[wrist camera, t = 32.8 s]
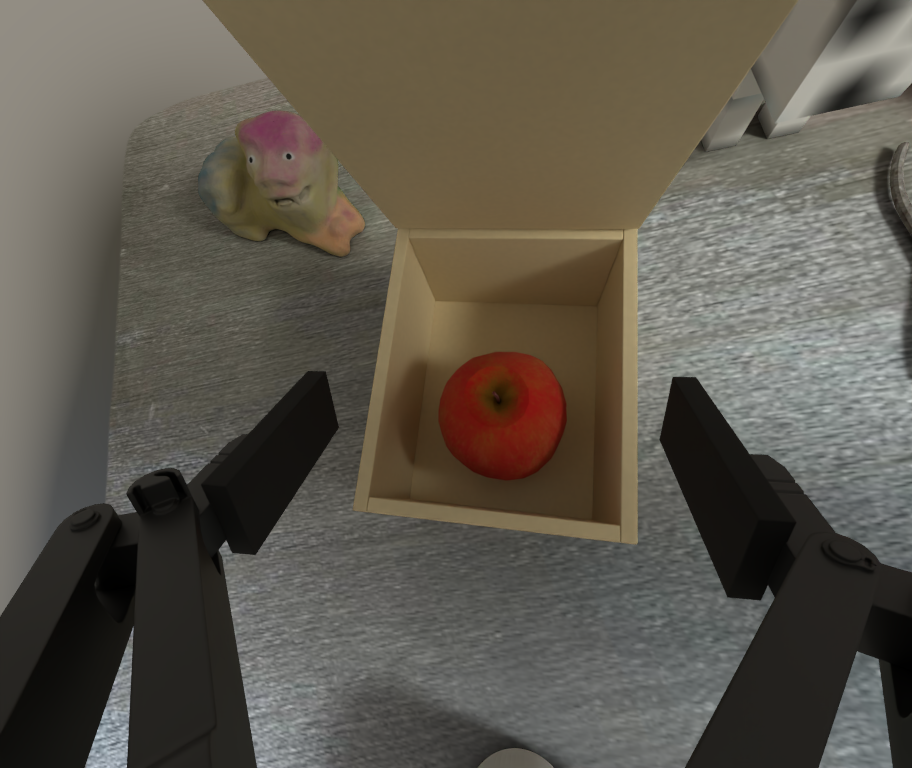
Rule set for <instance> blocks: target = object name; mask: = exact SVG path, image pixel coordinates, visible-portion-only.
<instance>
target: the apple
mask: <svg viewBox="0 0 912 768" xmlns="http://www.w3.org/2000/svg"><path fill="white" fill-rule="evenodd" d="M566 407H567V404H566V400H565V397H564V393H563V389H562V387H561V385H560V383H559V382H558V380H557V378H556V377H555V375H554V373H553V372H552V370H551V369H550V368H549V367H548V366H547V365H546V364H545V363H544V362H543V361H542V360H540V359H538V358H536V357H534V356H531V355H528V354H524V353H519V352H493V353H489V354H485V355H481V356H477V357H473V358H472V359H470V360H469V361H467V362H466V363H465V364H463V365H462V366H461V367H459V368H458V369H457V370H456V371H455V373H454V374H453V375H452V376H451V378H450V379H449V380H448V381H447V383H446V385H445V387H444V390H443V393H442V396H441V398H440V404H439V410H438V422H439V426H440V429H441V433H442V436H443V439H444V441H445V444H446V447H447V448H448V449H449V451H450V452H451V453H452V455H453V456H454V457H455V458H456V459H458V460H459V461H460V462H461V463H462V464H463V465H465V466H466V467H467V468H469V469H470V470H471V471H473V472H474V473H477V474H479V475H482V476H485V477H487V478H493V479H499V480H505V481H507V480H516V479H523V478H526V477H528V476H530V475H532V474H535V473H536V472H538V471H539V470H540V469H541V468H542V467H543V466H544V465H545V464H546V463H547V462H548V461H549V460H550V459H551V458H552V457H553V455H554V453H555V451H556V449H557V447H558V445H559V443H560V440H561V438H562V436H563V433H564V430H565V426H566V423H567V410H566Z"/></svg>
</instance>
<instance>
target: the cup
mask: <svg viewBox="0 0 912 768" xmlns="http://www.w3.org/2000/svg"><path fill="white" fill-rule="evenodd" d="M478 768H554V767H553V766H552V765H551V764H550V763H549V762H548V761H546V760H545V759H544V758H542V757H541V756H539V755H538V754H536V753H534V752H531V751H528V750H525V749H519V748H510V749H504V750H501V751H498V752H496V753H494V754H492V755H490V756H489V757H488V758H486V759H485V760H484V761H483V762H482V763H481V764H480V765H479V767H478Z"/></svg>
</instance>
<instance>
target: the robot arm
mask: <svg viewBox="0 0 912 768" xmlns="http://www.w3.org/2000/svg"><path fill="white" fill-rule="evenodd" d="M338 428H339V426H338V422H337V417H336V413H335V409H334V405H333V401H332V396H331V392H330V388H329V384H328V379H327V375H326V371H308V372H307V373H306V374H305V375H304V376H303V377H302V378H301V379H300V380H299V381H298V382H297V383H296V384H295V385H294V386H293V387H292V389H291V390H290V391H289V392H288V393H287V394H286V395H285V396H284V397H283V398H282V399H281V400H280V401H279V402H278V403H277V404H276V405H275V406H274V408H273V409H272V410H271V411H270V412H269V413H268V414H267V415H266V416H265V417H264V418H263V419H262V420H261V421H260V422H259V423H258V424H257V426H256V427H255V428H254V429H253V430H252V431H251V432H250V433H249V434H242V435H241V436H239V437H237V438H236V439H234V440H232V441H231V442H229V443H228V444H227V445H226V446H225V447H224V448H223V449H222V450H221V451H220V452H219V455H216V456H215V457H214V458H213V459H212V460H211V463H208V464H207V465H206V466H205V467H204V468H203V469H202V470H201V471H200V472H199V473H198V474H197V476H196V477H195V478H194V479H193V480H192V481H191V482H190V483H189V484H188V485H187V484H186V482H185V480H184V478H183V476H182V474H181V472H180V471H179V470H177V469H174V468H165V469H161V470H157V471H154V472H151V473H149V474H147V475H144V476H143V477H141V478H140V479H138V480H137V481H135V482H134V483H133V484H132V485H131V486H130V487H129V489H128V491H127V493H126V494H127V496H128V498H129V500H130V501H131V503H132V505H133V506H134V508H135V510H136V512H135V513H129V514H124V515H117V513H116V512H115V510H114V509H113V507H112V506H111V505H109V504H104V503H103V504H95V505H92V506H89V507H85V508H83V509H80V510H79V511H77V512H75V513H73V514H72V515H70V516H69V517H68V518H66V519H65V520H64V521H63V522H62V523H61V524H60V525H59V526H58V527H57V529H56V530H55V532H54V534H53V535H52V537H51V538H50V540H49V541H48V543H47V544H46V546H45V547H44V549H43V551H42V552H41V554H40V555H39V557H38V558H37V560H36V562H35V563H34V565H33V566H32V568H31V570H30V571H29V572H28V574H27V576H26V577H25V579H24V580H23V582H22V583H21V585H20V587H19V588H18V590H17V591H16V593H15V595H14V596H13V598H12V599H11V601H10V602H9V604H8V605H7V607H6V608H5V610H4V612H3V613H2V615H1V617H0V768H84V767H85V764H86V762H87V759H88V756H89V753H90V750H91V747H92V744H93V741H94V738H95V736H96V733H97V730H98V727H99V724H100V721H101V718H102V715H103V712H104V710H105V707H106V704H107V701H108V698H109V695H110V692H111V689H112V686H113V683H114V681H115V678H116V675H117V672H118V669H119V666H120V663H121V660H122V657H123V655H124V652H125V649H126V646H127V643H128V640H129V637H130V634H131V631H132V628H133V626H134V634H133V654H132V675H131V695H130V716H129V737H128V757H127V768H257V765H256V759H255V753H254V747H253V741H252V735H251V729H250V723H249V717H248V711H247V705H246V699H245V693H244V687H243V681H242V675H241V669H240V663H239V657H238V651H237V645H236V639H235V633H234V627H233V621H232V615H231V609H230V603H229V597H228V591H227V585H226V579H225V573H224V566H223V560H222V556H221V554H220V552H219V548H220V547H221V546H222V544H223V543H224V542H225V540H227V542H228V544H229V547H230V549H231V551H232V553H239V554H250V555H256V553H257V552H258V550H259V549H260V547H261V546H262V544H263V543H264V541H265V540H266V538H267V537H268V535H269V533H270V532H271V530H272V529H273V527H274V526H275V524H276V523H277V521H278V520H279V518H280V517H281V515H282V514H283V512H284V511H285V509H286V508H287V506H288V504H289V503H290V501H291V500H292V498H293V497H294V495H295V494H296V492H297V491H298V489H299V488H300V486H301V485H302V483H303V482H304V480H305V479H306V477H307V475H308V474H309V472H310V471H311V469H312V468H313V466H314V465H315V463H316V462H317V460H318V459H319V457H320V456H321V454H322V453H323V451H324V450H325V448H326V446H327V445H328V443H329V442H330V440H331V439H332V437H333V436H334V434H335V433H336V431H337V430H338ZM660 442H661V444H662V446H663V449H664V451H665V453H666V456H667V458H668V460H669V463H670V465H671V467H672V470H673V472H674V474H675V477H676V479H677V481H678V483H679V486H680V488H681V490H682V493H683V495H684V497H685V500H686V502H687V504H688V507H689V509H690V511H691V514H692V516H693V518H694V521H695V523H696V525H697V527H698V530H699V532H700V534H701V537H702V539H703V541H704V544H705V546H706V548H707V551H708V553H709V555H710V558H711V560H712V562H713V565H714V567H715V569H716V571H717V574H718V576H719V578H720V581H721V583H722V585H723V588H724V590H725V592H726V595H727V597H730V598H741V599H752V600H761V599H762V596H763V594H764V592H765V590H766V588H767V586H769V588H770V589H771V591H772V593H773V595H774V597H775V599H774V601H773V603H772V604H771V606H770V608H769V610H768V612H767V614H766V616H765V618H764V620H763V621H762V623H761V625H760V627H759V629H758V631H757V633H756V635H755V637H754V638H753V640H752V642H751V644H750V646H749V648H748V650H747V652H746V654H745V655H744V657H743V659H742V661H741V663H740V665H739V667H738V669H737V670H736V672H735V674H734V676H733V678H732V680H731V682H730V684H729V686H728V687H727V689H726V691H725V693H724V695H723V697H722V699H721V701H720V703H719V704H718V706H717V708H716V710H715V712H714V714H713V716H712V718H711V720H710V721H709V723H708V725H707V727H706V729H705V731H704V733H703V735H702V736H701V738H700V740H699V742H698V744H697V746H696V748H695V750H694V752H693V753H692V755H691V757H690V759H689V761H688V763H687V765H686V767H685V768H818V767H819V764H820V761H821V758H822V755H823V752H824V749H825V746H826V743H827V740H828V737H829V734H830V731H831V728H832V725H833V722H834V719H835V716H836V713H837V710H838V707H839V704H840V701H841V698H842V695H843V692H844V689H845V686H846V683H847V680H848V676H849V673H850V670H851V667H852V664H853V661H854V658H855V655H856V652H857V651H858V652H861V653H864V654H866V655H869V656H872V657H875V658H878V659H879V665H880V672H881V680H882V688H883V695H884V703H885V710H886V718H887V726H888V733H889V741H890V749H891V756H892V764H893V768H912V572H908V571H905V570H901V569H898V568H894V567H891V566H887V565H884V564H881V563H880V562H879V560H878V559H877V557H876V556H875V555H874V554H873V553H872V552H871V551H869V550H868V549H867V548H866V547H865V546H863V545H862V544H860V543H858V542H856V541H854V540H853V539H851V538H848V537H845V536H843V535H840V534H837V533H835V531H834V530H833V529H832V527H831V526H830V525H829V524H828V522H827V521H826V520H825V518H824V517H823V516H822V515H821V513H820V512H819V511H818V509H817V508H816V507H815V506H814V504H813V503H812V502H811V500H810V499H809V498H808V497H807V495H806V494H804V491H803V490H802V489H801V487H800V486H799V485H798V484H797V483H795V480H794V478H793V477H792V476H791V475H790V473H789V472H788V471H787V469H786V468H785V467H784V466H782V465H781V464H780V463H778V462H777V461H775V460H774V459H773V458H771V457H770V456H768V455H753V454H749V453H748V451H747V450H746V448H745V447H744V446H743V444H742V443H741V441H740V440H739V438H738V437H737V436H736V434H735V433H734V431H733V430H732V428H731V427H730V425H729V424H728V423H727V421H726V420H725V418H724V417H723V415H722V414H721V413H720V411H719V410H718V408H717V407H716V405H715V404H714V402H713V401H712V400H711V398H710V397H709V395H708V394H707V392H706V391H705V390H704V388H703V387H702V385H701V384H700V382H699V381H698V379H697V378H696V377H673V379H672V384H671V388H670V393H669V398H668V402H667V407H666V412H665V416H664V421H663V426H662V431H661V435H660Z"/></svg>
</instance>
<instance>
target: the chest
mask: <svg viewBox="0 0 912 768" xmlns="http://www.w3.org/2000/svg"><path fill="white" fill-rule="evenodd" d="M493 352H519V353H524V354H528V355H531V356H534V357H536V358H538V359H540V360H542V361H543V362H544V363H545V364H546V365H547V366H548V367H549V368H550V369H551V370H552V372H553V373H554V375H555V377H556V378H557V380H558V382H559V383H560V385H561V387H562V389H563V393H564V397H565V400H566V404H567V407H566V410H567V423H566V426H565V430H564V433H563V436H562V438H561V440H560V443H559V445H558V447H557V449H556V451H555V453H554V455H553V457H552V458H551V459H550V460H549V461H548V462H547V463H546V464H545V465H544V466H543V467H542V468H541V469H540V470H539V471H538V472H536V473H535V474H532V475H530V476H528V477H526V478H523V479H516V480H507V481H505V480H499V479H493V478H487V477H485V476H482V475H479V474H477V473H474V472H473V471H471V470H470V469H469V468H467V467H466V466H465V465H463V464H462V463H461V462H460V461H459V460H458V459H456V458H455V457H454V456H453V455H452V453H451V452H450V451H449V449H448V448H447V447H446V444H445V441H444V439H443V436H442V433H441V429H440V426H439V422H438V410H439V404H440V398H441V396H442V393H443V390H444V387H445V385H446V383H447V381H448V380H449V379H450V378H451V376H452V375H453V374H454V373H455V371H456V370H457V369H458V368H459V367H461V366H462V365H463V364H465V363H466V362H467V361H469V360H470V359H472V358H473V357H477V356H481V355H485V354H489V353H493ZM353 510H354V511H361V512H370V513H378V514H386V515H395V516H403V517H411V518H419V519H428V520H436V521H444V522H453V523H461V524H469V525H477V526H486V527H494V528H502V529H511V530H519V531H527V532H535V533H544V534H552V535H560V536H569V537H577V538H585V539H593V540H602V541H610V542H621V543H627V544H635V545H636V544H637V543H638V439H637V229H526V228H398V232H397V238H396V244H395V250H394V257H393V263H392V269H391V275H390V281H389V288H388V294H387V300H386V306H385V312H384V319H383V325H382V331H381V337H380V344H379V350H378V356H377V362H376V368H375V375H374V381H373V387H372V393H371V399H370V406H369V412H368V418H367V424H366V430H365V437H364V443H363V449H362V455H361V461H360V468H359V474H358V480H357V486H356V492H355V499H354V505H353Z"/></svg>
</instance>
